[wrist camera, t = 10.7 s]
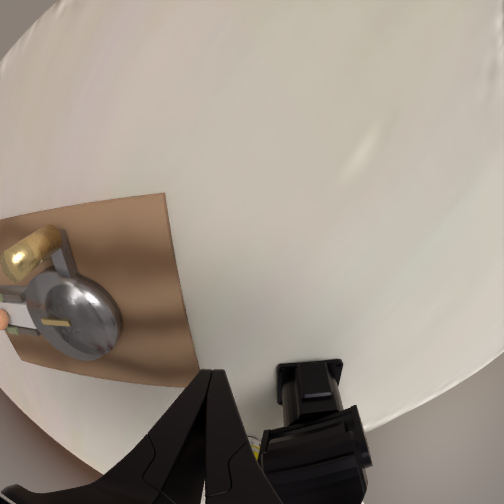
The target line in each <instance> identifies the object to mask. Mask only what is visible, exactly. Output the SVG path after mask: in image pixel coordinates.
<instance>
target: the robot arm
mask: <svg viewBox="0 0 504 504" xmlns="http://www.w3.org/2000/svg"><path fill="white" fill-rule="evenodd" d="M342 368H343V362H342V360H341V359H335V360H326V361H316V362H304V363H290V364H280V365H279V366H278V367H277V403H278V404H279V405H283V417H284V427H282V428H277V429H273V430H270V429H269V430H264V433H263V437H262V440H261V445H260V450H259V455H258V459H256V457H255V455H254V452H253V450H252V447H251V445H250V442H249V440H248V437H247V434H246V431H245V429H244V426H243V423H242V420H241V417H240V414H239V412H238V409H237V406H236V403H235V400H234V397H233V394H232V391H231V388H230V385H229V382H228V379H227V376H226V372H225V370H223V369H214V370H211V369H201V370H200V371H199V372H198V374H197V375H196V376H195V377H194V378H193V380H192V381H191V382H190V383H189V385H188V386H187V387H186V388H185V389H184V391H183V392H182V393H181V394H180V395H179V397H178V398H177V399H176V400H175V401H174V403H173V404H172V405H171V406H170V407H169V409H168V410H167V411H166V412H165V413H164V414H163V416H162V417H161V418H160V419H159V420H158V422H157V423H156V424H155V425H154V426H153V427H152V429H151V430H150V431H149V432H148V434H146V435H145V437H144V438H143V439H142V440H141V441H140V442H139V443H138V444H137V445H136V446H135V448H134V449H133V450H132V451H131V452H129V453H128V454H127V455H126V456H125V457H124V458H123V459H122V460H121V461H120V462H118V463H117V464H116V465H115V466H114V467H113V468H111V469H110V470H109V471H108V472H107V473H105V474H104V475H103V476H102V477H100V478H99V479H98V480H96V481H94V482H93V483H90V484H88V485H85V486H80V487H76V488H71V489H66V490H61V491H56V492H49V493H34V492H31V491H28V490H27V489H25V488H23V487H22V486H20V485H18V484H14V485H11V486H8V487H6V488H4V489H3V490H2V491H1V493H2V494H4V495H5V496H6V497H7V498H9V499H10V500H12V501H13V502H15V503H16V504H200V503H201V497H202V492H203V486H204V481H205V497H206V499H205V504H361V503H362V500H363V498H364V495H365V493H366V490H367V485H368V480H367V476H366V471H365V468H368V467H370V466H373V465H372V461H371V456H370V452H369V447H368V443H367V439H366V436H365V432H364V428H363V425H362V422H361V418H360V415H359V412H358V409H357V406H356V405H354V406H351V408H348V409H345V410H343V406H342V402H341V398H340V394H339V390H338V385H339V381H340V377H341V372H342ZM0 504H11V503H9V502H8V501H6V500H5V499H4V498H2V497H1V496H0Z"/></svg>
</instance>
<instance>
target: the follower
mask: <svg viewBox="0 0 504 504" xmlns="http://www.w3.org/2000/svg"><path fill="white" fill-rule="evenodd" d="M8 324H11V325H16V326H22V327H27V328H33V329H37V327H36V326H35V324H34V323H33V321H32V319H31V316H30V314H29V311H28V308H27V304H26V299H25V300H24V301H23V302H14V301H4V302H0V330H4V329H6V328H7V326H8Z"/></svg>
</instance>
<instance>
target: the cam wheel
mask: <svg viewBox="0 0 504 504" xmlns="http://www.w3.org/2000/svg"><path fill="white" fill-rule="evenodd" d="M50 256H51V257H52V260H53V263H54V266H49V267H47V268H45V269H44V270H42V271H41V272H40V273H39V274H38V275H36V276H35V277H34V278H33V279H32V280H31V281H30V282H29V284H28V286H27V289H26V304H27V308H28V311H29V314H30V316H31V319H32V321H33V323H34V324H35V326H36V327H37V329H38V330H39V332H40V333H41V334H42V336H43V337H44V338H45V339H46V340H47V341H48V342H49V343H50V344H51V345H52V346H54V347H55V348H56V349H58V350H59V351H61V352H62V353H64V354H66V355H68V356H70V357H72V358H75V359H78V360H83V361H92V360H96V359H98V358H100V357H101V356H102V355H103V354H106V353H108V352H110V351H111V350H112V349H113V347H114V345H115V344H116V342H117V340H118V338H119V336H120V335H121V333H122V329H123V320H122V315H121V312H120V310H119V308H118V306H117V304H116V302H115V301H114V299H113V298H112V297H111V295H110V294H109V293H108V292H107V291H106V290H105V289H104V288H103V287H102V286H101V285H99V284H98V283H96V282H95V281H93V280H91V279H89V278H87V277H85V276H82V275H81V274H79V273H78V272H77V269H76V266H75V263H74V260H73V257H72V253H71V250H70V247H69V243H68V240H67V236H66V233H65V230H58V229H57V228H56V227H55V226H54V225H51V224H47V225H45V226H43V227H42V228H40V229H38V230H37V231H35V232H33V233H32V234H30V235H29V236H27V237H25V238H24V239H22V240H21V241H19V242H18V243H16V244H15V245H13V246H12V247H10V248H9V249H7V250H6V251H4V252H3V253H2V254H1V257H0V262H1V267H2V270H3V272H4V274H5V275H6V276H7V278H8V279H9V280H10V281H12V282H14V283H18V282H19V281H21V280H22V279H23V278H24V277H25V276H27V275H28V274H29V273H30V272H31V271H33V270H34V269H35V268H36V267H38V266H39V265H40V264H41V263H43V262H44V261H45V260H46V259H48V258H49V257H50Z"/></svg>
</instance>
